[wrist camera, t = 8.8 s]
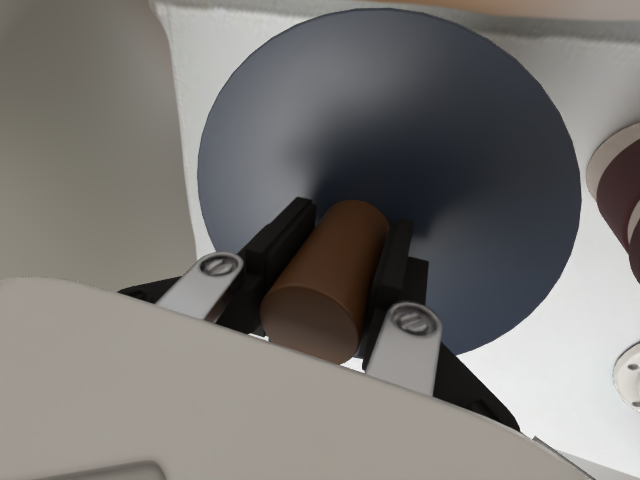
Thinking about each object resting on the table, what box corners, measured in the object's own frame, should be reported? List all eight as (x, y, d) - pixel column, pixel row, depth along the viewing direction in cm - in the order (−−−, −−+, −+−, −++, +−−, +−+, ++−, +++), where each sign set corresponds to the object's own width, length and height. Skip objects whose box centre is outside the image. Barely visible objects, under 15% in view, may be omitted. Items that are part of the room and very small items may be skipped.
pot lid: (677, 28, 8) (1112, -7, 3) (485, 380, 16) (505, 551, 11) (193, -2, 12) (-26, -44, 6) (225, 300, 20) (139, 399, 14)
